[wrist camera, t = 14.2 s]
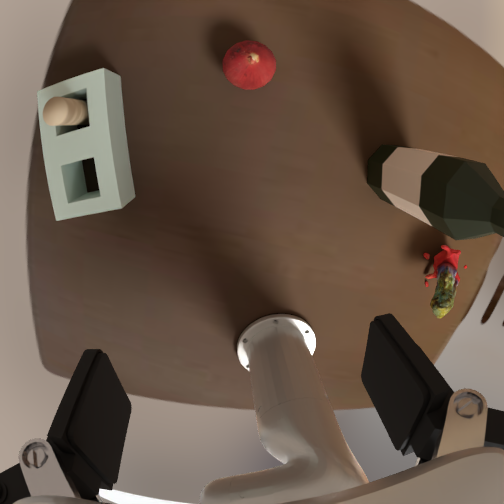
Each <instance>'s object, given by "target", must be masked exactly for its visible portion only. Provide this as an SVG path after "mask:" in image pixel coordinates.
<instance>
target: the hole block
mask: <svg viewBox="0 0 504 504" xmlns="http://www.w3.org/2000/svg"><path fill="white" fill-rule="evenodd" d="M37 97H38V112H39V123H40V133H41V141H42V149H43V156H44V162H45V168H46V174H47V180H48V185H49V190H50V195H51V200H52V204H53V209H54V213H55V217H56V221H59V220H64V219H69V218H74V217H79V216H84V215H89V214H94V213H100V212H105V211H111V210H116V209H122V208H123V207H124V206H125V205H127V204H128V203H129V202H130V201H131V200H132V199H134V198H135V197H136V196H135V191H134V185H133V179H132V172H131V166H130V159H129V152H128V145H127V137H126V129H125V120H124V111H123V100H122V89H121V76H119V75H117V74H115V73H113V72H111V71H109V70H107V69H105V68H102V69H98V70H95V71H92V72H89V73H86V74H82V75H79V76H76V77H74V78H71V79H68V80H65V81H62V82H60V83H57V84H54V85H52V86H49V87H47V88H44V89H42V90H39V91H38V92H37ZM53 97H64V98H71V99H78V100H83V99H86V98H87V102H88V113H89V123H90V126H89V127H86V128H82V129H79V130H78V128H77V125H61V126H50V125H48V124H46V123H45V121H44V119H43V109H44V106H45V104H46V103H47V101H48V100H49V99H51V98H53ZM92 157H94V161H95V167H96V173H97V179H98V185H99V190H98V191H93V192H87V187H86V182H85V176H84V170H83V164H82V160H84V159H88V158H92Z"/></svg>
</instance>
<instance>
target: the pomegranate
mask: <svg viewBox="0 0 504 504" xmlns="http://www.w3.org/2000/svg"><path fill="white" fill-rule="evenodd" d="M222 62H223V72H224V74H225V76H226V78H227V80H229V81H230V82H231V83H232V84H233V85H234V86H237V87H239V88H242V89H250V90H254V89H257V88H259V87H262V86H264V85H265V84H267V83H268V82H269V81H270V80H271V79H272V77H273V75H274V73H275V71H276V60H275V57H274V55H273V53H272V51H271V50H270V49H269V48H268V47H267V46H266V45H263V44H261V43H259V42H257V41H243V42H239V43H236V44H235V45H233V46H232V47H231V48H230V49H228V50H227V52H226V54H225V56H224V59H223V61H222Z"/></svg>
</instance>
